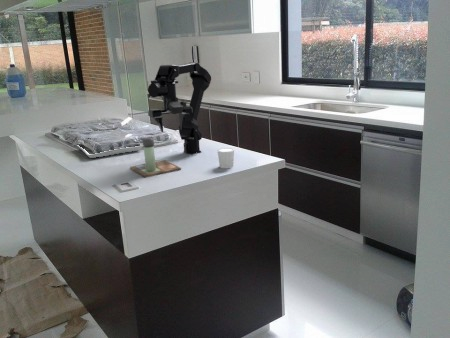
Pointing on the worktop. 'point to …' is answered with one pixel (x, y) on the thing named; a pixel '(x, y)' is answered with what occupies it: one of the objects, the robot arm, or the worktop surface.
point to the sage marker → (149, 154)
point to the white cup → (226, 157)
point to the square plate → (112, 151)
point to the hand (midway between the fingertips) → (172, 130)
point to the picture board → (160, 168)
